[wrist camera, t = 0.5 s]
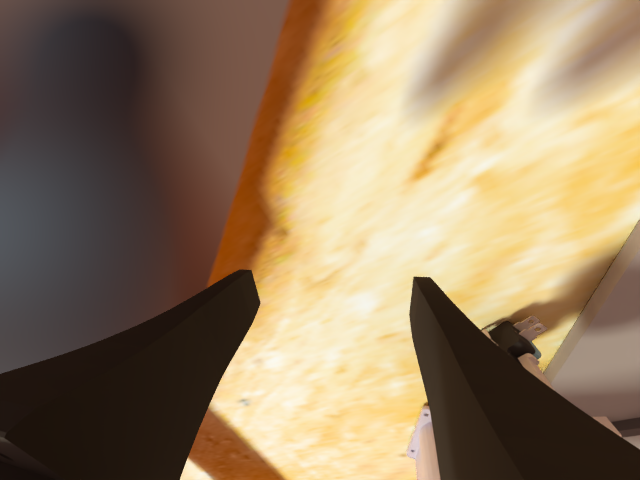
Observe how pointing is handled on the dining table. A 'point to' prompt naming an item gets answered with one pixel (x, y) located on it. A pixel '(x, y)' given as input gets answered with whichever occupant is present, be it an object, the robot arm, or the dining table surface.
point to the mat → (605, 345)
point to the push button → (520, 343)
